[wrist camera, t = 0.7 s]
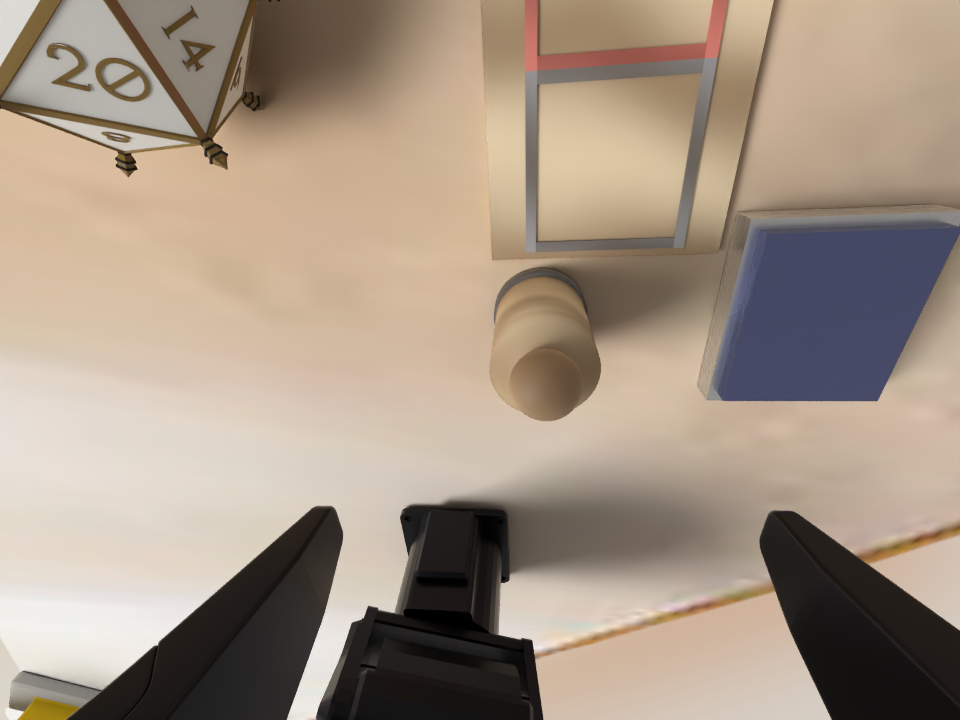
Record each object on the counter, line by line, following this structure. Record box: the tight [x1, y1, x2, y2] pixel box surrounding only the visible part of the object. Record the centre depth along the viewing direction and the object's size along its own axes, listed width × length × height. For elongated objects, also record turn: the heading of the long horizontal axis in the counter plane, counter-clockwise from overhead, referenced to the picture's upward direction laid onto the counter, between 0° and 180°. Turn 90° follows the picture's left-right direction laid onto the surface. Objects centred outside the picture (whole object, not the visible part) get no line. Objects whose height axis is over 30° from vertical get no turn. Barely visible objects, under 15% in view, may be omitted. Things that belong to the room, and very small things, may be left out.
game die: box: [0, 0, 280, 177], centre depth 12 cm, size 9×8×10 cm
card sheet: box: [481, 0, 774, 260], centre depth 15 cm, size 13×9×1 cm
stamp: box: [490, 268, 601, 421], centre depth 16 cm, size 4×4×7 cm
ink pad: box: [697, 204, 960, 401], centre depth 18 cm, size 8×7×2 cm
